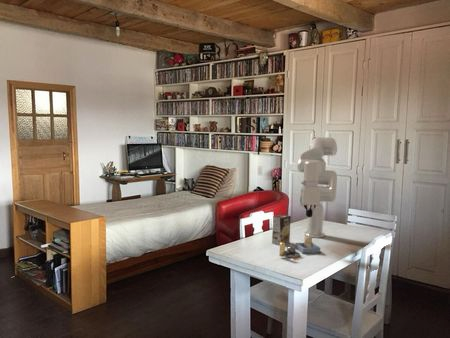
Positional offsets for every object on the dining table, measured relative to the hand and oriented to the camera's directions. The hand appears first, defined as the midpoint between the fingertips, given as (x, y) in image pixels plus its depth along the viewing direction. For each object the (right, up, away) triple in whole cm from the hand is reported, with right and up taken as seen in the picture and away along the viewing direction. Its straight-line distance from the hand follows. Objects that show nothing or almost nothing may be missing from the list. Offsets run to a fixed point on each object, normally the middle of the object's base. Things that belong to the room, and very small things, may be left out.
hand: (309, 216), depth 212 cm
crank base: (-11, -20, -8) cm, 24 cm away
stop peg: (0, -18, +2) cm, 18 cm away
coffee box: (-13, -18, +16) cm, 27 cm away
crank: (-13, -19, -8) cm, 24 cm away
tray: (0, -19, +2) cm, 19 cm away
